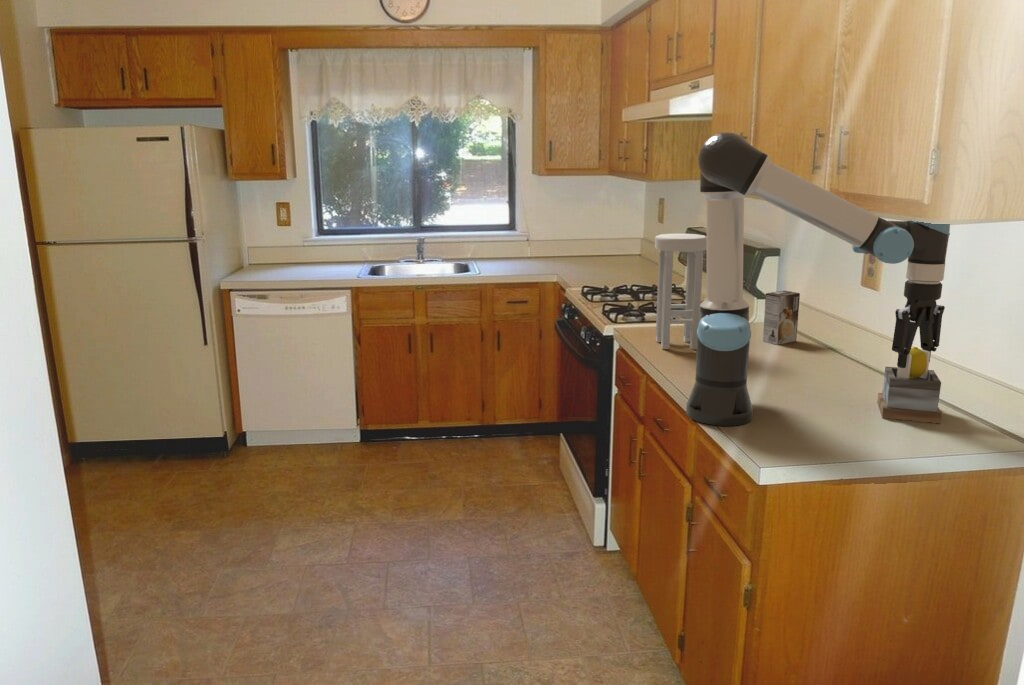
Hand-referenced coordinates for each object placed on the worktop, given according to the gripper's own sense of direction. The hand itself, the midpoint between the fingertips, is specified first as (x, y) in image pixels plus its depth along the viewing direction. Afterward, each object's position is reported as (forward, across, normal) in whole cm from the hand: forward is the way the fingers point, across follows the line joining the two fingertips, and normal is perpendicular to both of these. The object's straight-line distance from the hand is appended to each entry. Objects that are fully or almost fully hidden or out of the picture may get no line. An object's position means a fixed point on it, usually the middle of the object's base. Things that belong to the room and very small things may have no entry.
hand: (911, 378), depth 177 cm
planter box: (+8, 0, 0) cm, 8 cm away
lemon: (+1, 0, 0) cm, 1 cm away
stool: (+9, +9, -77) cm, 78 cm away
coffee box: (+9, -23, -66) cm, 70 cm away
